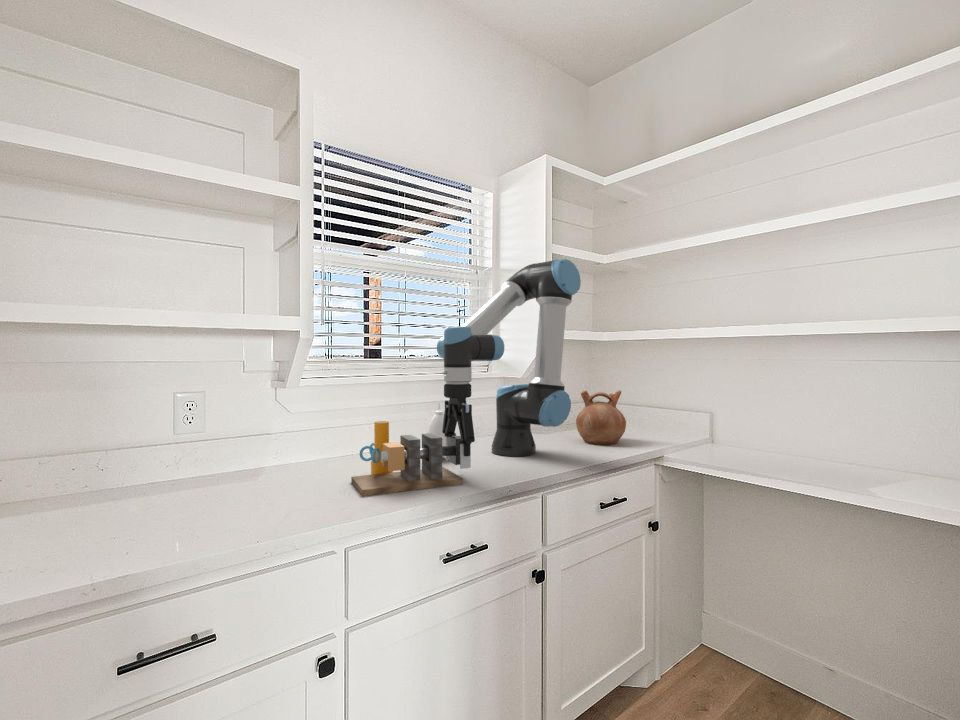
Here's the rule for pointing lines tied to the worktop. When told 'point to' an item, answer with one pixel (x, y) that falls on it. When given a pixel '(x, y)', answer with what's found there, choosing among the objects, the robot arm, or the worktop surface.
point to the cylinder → (377, 447)
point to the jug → (601, 420)
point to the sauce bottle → (437, 425)
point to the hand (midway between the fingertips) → (457, 463)
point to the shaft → (446, 451)
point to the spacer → (394, 456)
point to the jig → (411, 470)
